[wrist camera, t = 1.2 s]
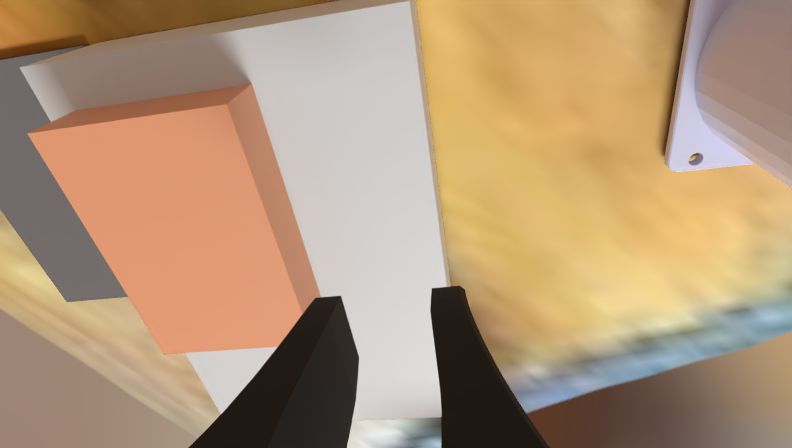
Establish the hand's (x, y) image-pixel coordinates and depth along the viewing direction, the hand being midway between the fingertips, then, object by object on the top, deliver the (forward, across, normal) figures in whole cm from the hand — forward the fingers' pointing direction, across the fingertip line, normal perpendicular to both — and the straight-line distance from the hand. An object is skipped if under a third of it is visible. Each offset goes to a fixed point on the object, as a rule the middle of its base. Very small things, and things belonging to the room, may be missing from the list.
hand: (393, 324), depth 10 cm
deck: (+10, +5, +3) cm, 11 cm away
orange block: (+6, +7, 0) cm, 9 cm away
